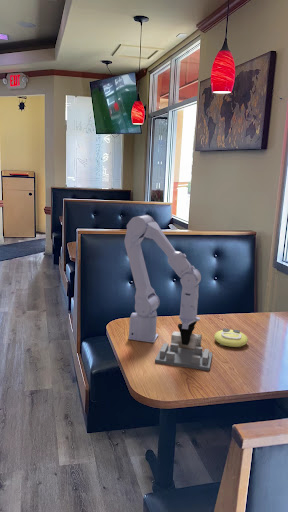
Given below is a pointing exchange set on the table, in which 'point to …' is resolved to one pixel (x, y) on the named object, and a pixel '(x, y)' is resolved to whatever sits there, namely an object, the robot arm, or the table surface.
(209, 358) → the cradle
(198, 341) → the light grey tapered block
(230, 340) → the emoji
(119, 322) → the table surface
